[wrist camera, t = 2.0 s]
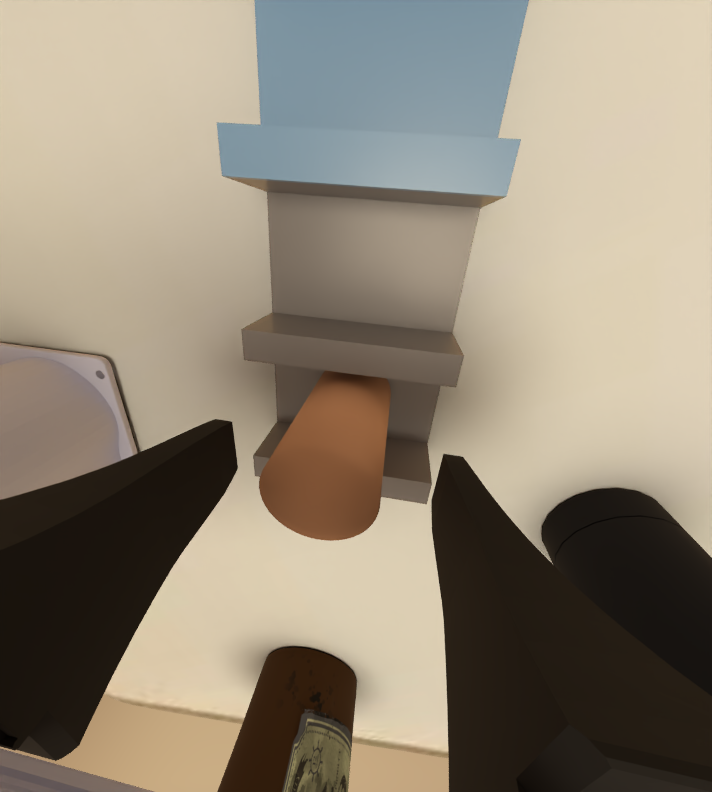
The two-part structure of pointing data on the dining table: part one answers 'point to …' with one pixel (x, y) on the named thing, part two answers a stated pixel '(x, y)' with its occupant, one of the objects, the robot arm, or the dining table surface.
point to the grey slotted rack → (374, 196)
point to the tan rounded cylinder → (331, 459)
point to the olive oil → (296, 727)
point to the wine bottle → (639, 573)
